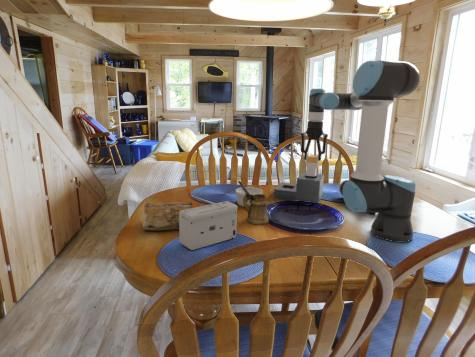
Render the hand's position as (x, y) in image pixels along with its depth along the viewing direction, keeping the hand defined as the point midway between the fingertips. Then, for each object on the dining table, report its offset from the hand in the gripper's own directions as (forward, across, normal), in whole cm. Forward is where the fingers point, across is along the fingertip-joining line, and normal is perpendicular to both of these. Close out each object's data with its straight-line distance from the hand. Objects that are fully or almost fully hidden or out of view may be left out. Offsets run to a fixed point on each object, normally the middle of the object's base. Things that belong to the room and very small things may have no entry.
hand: (311, 166), depth 170 cm
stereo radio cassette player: (+18, +25, +69) cm, 75 cm away
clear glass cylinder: (+5, 0, 0) cm, 5 cm away
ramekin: (+18, +26, +22) cm, 39 cm away
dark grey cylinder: (+18, -25, +1) cm, 30 cm away
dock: (+17, +6, 0) cm, 18 cm away
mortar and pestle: (+18, +17, +43) cm, 49 cm away
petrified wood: (+18, +46, +63) cm, 80 cm away
